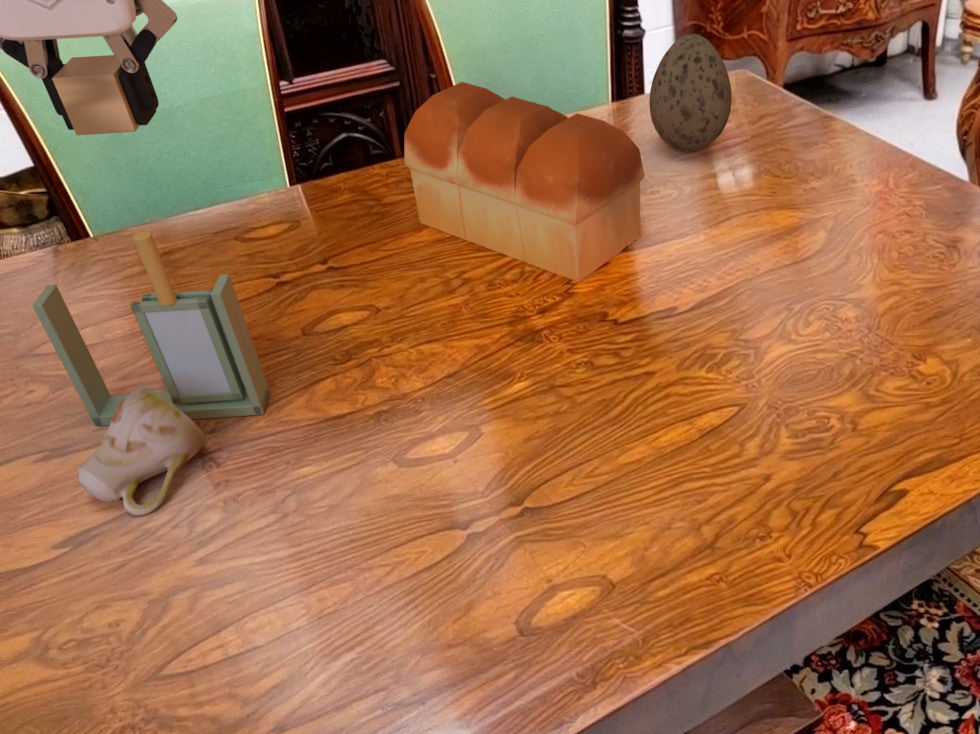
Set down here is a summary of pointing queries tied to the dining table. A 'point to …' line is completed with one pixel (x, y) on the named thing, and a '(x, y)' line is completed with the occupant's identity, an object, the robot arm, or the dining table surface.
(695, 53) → the decorative egg
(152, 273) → the window pane
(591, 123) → the bread
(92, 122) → the block
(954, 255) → the dining table surface
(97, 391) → the window frame
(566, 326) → the dining table surface
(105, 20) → the robot arm
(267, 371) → the dining table surface
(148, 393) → the mug
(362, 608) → the dining table surface
